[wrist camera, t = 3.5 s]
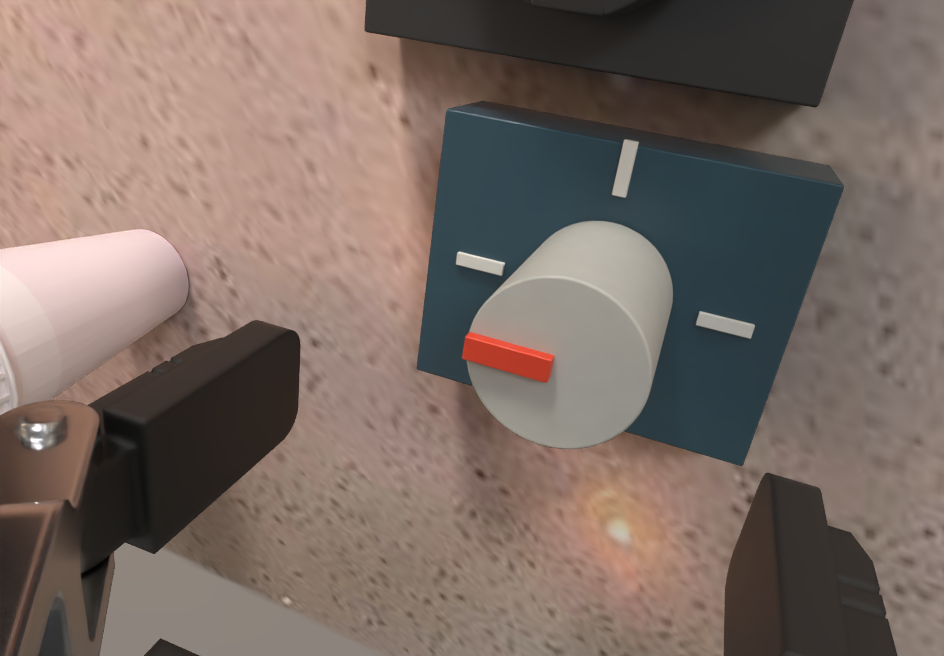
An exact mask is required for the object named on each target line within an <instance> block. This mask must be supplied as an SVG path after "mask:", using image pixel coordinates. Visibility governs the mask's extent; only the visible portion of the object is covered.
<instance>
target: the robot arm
mask: <svg viewBox="0 0 944 656" xmlns="http://www.w3.org/2000/svg"><path fill="white" fill-rule="evenodd" d="M299 369H300V339H299V336H298V334H297V333H296V332H295V331H293V330H289V329H286V328H283V327H279V326H276V325H273V324H269V323H266V322H263V321H259V320H255V321H252V322H250V323H248V324H246V325H245V326H243V327H241V328H240V329H238V330H236V331H234V332H233V333H231V334H229V335H228V336H226V337H224V338H219V339H215V340H211V341H208V342H204V343H201V344H197V345H193V346H191V347H190V348H188V349H186V350H184V351H183V352H181V353H179V354H177V355H176V356H174V357H172V358H171V360H170V362H169V361H165V362H163V363H161V364H160V365H158V366H156V367H154V368H153V369H152V372H149V371H147V372H145V373H144V374H142V375H140V376H138V377H137V378H135V379H133V380H131V381H130V382H128V383H126V384H124V385H122V386H121V387H119V388H117V389H115V390H114V391H112V392H110V393H108V394H107V395H105V396H103V397H101V398H100V399H98V400H96V401H94V402H92V403H91V404H89V405H86V404H82V403H79V402H74V401H67V400H49V401H41V402H34V403H30V404H26V405H23V406H20V407H16V408H14V409H12V410H9V411H7V412H5V413H3V414H2V415H0V656H99V654H100V649H101V643H102V638H103V632H104V626H105V620H106V614H107V608H108V603H109V597H110V592H111V586H112V580H113V574H114V569H115V561H114V551H115V550H116V549H117V548H119V547H120V546H121V545H122V544H123V543H125V542H126V543H128V544H131V545H133V546H136V547H138V548H140V549H143V550H146V551H148V552H150V553H153V554H155V553H156V552H158V551H159V550H160V549H161V548H162V547H163V546H164V545H165V544H167V543H168V542H169V541H170V540H171V539H172V538H173V537H174V536H176V535H177V534H178V533H179V532H180V531H181V530H182V529H183V528H185V527H186V526H187V525H188V524H189V523H190V522H191V521H192V520H194V519H195V518H196V517H197V516H198V515H199V514H200V513H201V512H203V511H204V510H205V509H206V508H207V507H208V506H209V505H210V504H212V503H213V502H214V501H215V500H216V499H217V498H218V497H220V496H221V495H222V494H223V493H224V492H225V491H226V490H227V489H229V488H230V487H231V486H232V485H233V484H234V483H235V482H236V481H238V480H239V479H240V478H241V477H242V476H243V475H244V474H245V473H247V472H248V471H249V470H250V469H251V468H252V467H253V466H254V465H256V464H257V463H258V462H259V461H260V460H261V459H262V458H263V457H265V456H266V455H267V454H268V453H269V452H270V451H271V450H272V449H274V448H275V447H276V446H277V445H278V444H279V443H280V442H281V441H283V440H284V439H285V437H286V436H287V435H288V433H289V432H290V430H291V428H292V426H293V424H294V422H295V419H296V415H297V411H298V397H299ZM879 591H880V587H879V584H878V580H877V576H876V572H875V568H874V565H873V561H872V560H871V559H870V557H869V556H868V555H867V553H866V552H865V551H864V549H863V548H862V547H861V545H860V544H859V543H858V541H857V540H856V539H855V538H854V536H853V535H852V534H851V533H850V532H847V531H844V530H841V529H837V528H834V527H831V526H828V525H827V520H826V515H825V509H824V504H823V499H822V494H821V490H820V489H819V488H818V487H815V486H811V485H808V484H805V483H801V482H798V481H794V480H791V479H788V478H784V477H781V476H778V475H774V474H771V473H766V474H765V475H764V476H763V478H762V480H761V482H760V484H759V486H758V489H757V491H756V494H755V497H754V499H753V502H752V504H751V507H750V510H749V512H748V515H747V517H746V520H745V523H744V525H743V528H742V530H741V533H740V536H739V538H738V541H737V543H736V546H735V549H734V551H733V554H732V557H731V561H730V565H729V569H728V574H727V579H726V586H725V616H724V656H897V652H896V649H895V645H894V641H893V637H892V633H891V629H890V626H889V622H888V619H886V618H885V615H886V610H885V607H884V603H883V599H882V595H880V594H879ZM144 656H199V655H197V654H194V653H192V652H190V651H188V650H185V649H183V648H181V647H179V646H176V645H174V644H172V643H170V642H167V641H165V640H163V639H159V640H158V641H157V643H156V644H155V645H154V646H153V647H152V648H151V649H150V650H149V651H148V652H147V653H146V654H145V655H144Z"/></svg>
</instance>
